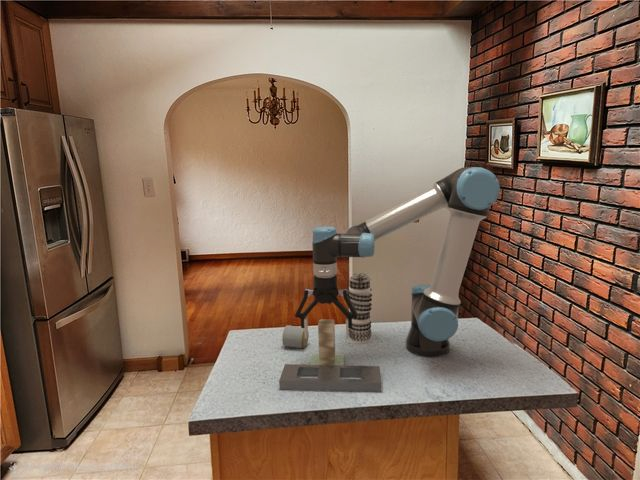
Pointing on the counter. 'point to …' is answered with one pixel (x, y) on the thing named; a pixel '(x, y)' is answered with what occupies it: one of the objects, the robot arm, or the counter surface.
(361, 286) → the decorative candle
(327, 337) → the peg
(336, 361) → the mat
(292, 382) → the grey flat slotted plate
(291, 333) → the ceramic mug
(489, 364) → the counter surface
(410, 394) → the counter surface
